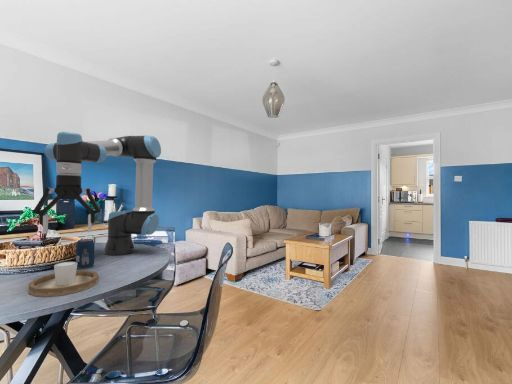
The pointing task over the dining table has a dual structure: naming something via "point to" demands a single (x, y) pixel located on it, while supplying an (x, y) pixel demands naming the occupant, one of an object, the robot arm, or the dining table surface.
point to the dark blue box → (85, 253)
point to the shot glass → (65, 273)
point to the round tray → (48, 286)
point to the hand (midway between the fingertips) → (68, 232)
